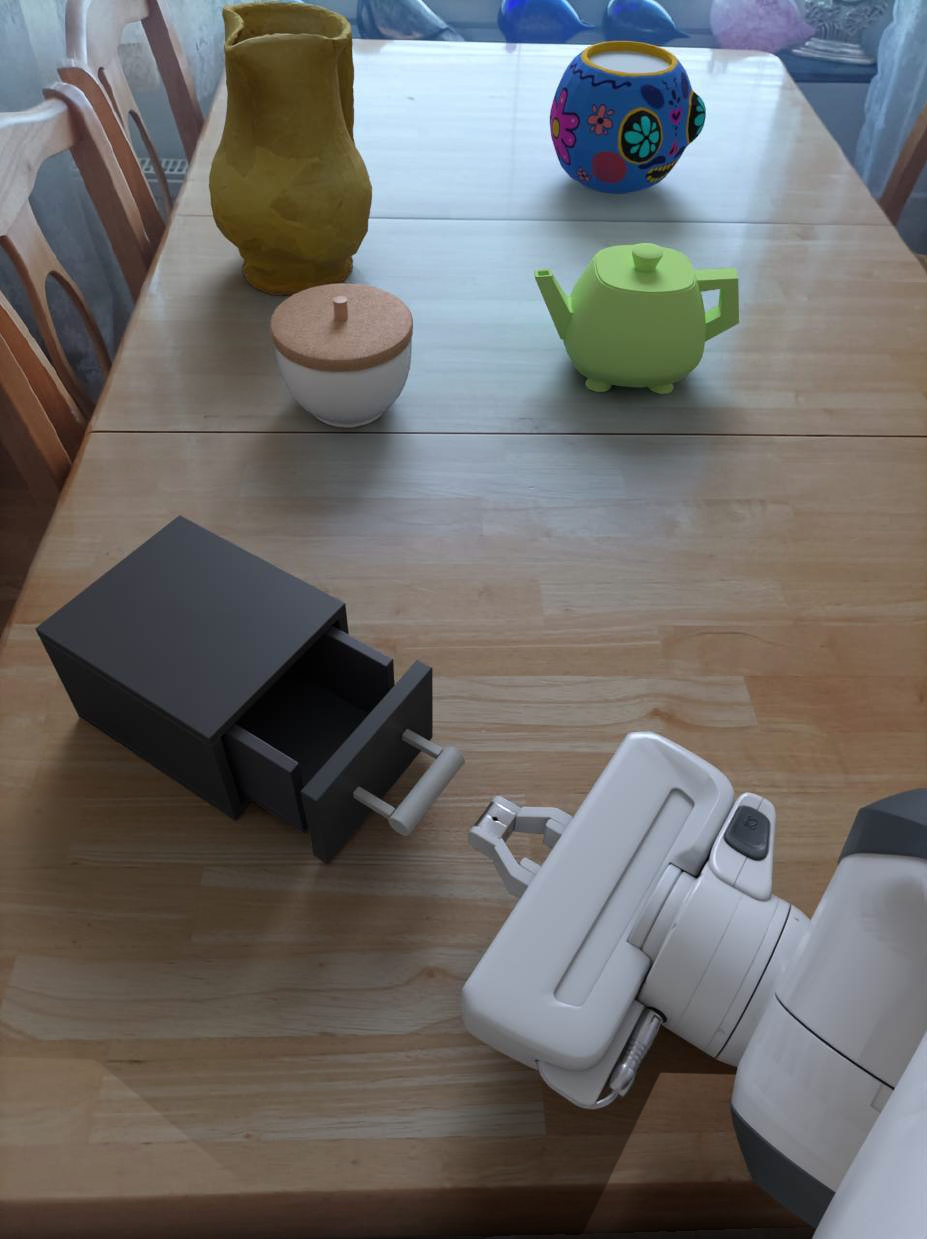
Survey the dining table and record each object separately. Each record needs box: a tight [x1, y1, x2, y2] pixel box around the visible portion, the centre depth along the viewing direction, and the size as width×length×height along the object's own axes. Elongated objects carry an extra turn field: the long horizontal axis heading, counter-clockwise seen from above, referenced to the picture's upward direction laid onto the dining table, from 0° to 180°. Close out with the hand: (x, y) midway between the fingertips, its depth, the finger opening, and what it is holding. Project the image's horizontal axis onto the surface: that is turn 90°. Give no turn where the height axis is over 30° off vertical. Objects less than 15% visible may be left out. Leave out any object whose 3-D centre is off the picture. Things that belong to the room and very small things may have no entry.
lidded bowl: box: [269, 282, 414, 429], centre depth 85 cm, size 13×13×11 cm
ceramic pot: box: [549, 40, 707, 195], centre depth 116 cm, size 18×18×15 cm
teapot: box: [533, 242, 740, 395], centre depth 90 cm, size 20×13×13 cm
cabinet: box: [34, 514, 350, 822], centre depth 63 cm, size 15×13×10 cm
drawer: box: [220, 626, 466, 866], centre depth 59 cm, size 18×11×8 cm, turn 57°
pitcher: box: [208, 0, 373, 296], centre depth 97 cm, size 17×19×25 cm
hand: (481, 818), depth 55 cm, fingers closed
